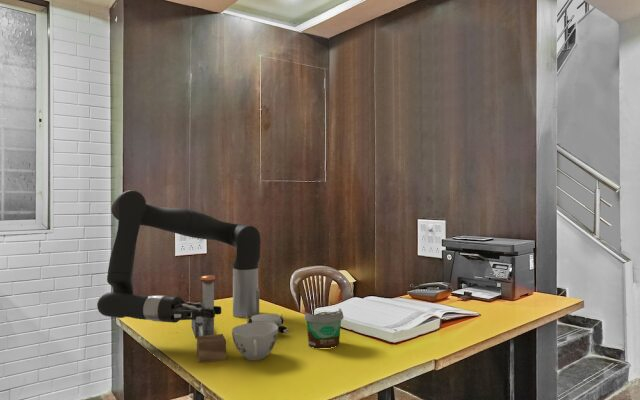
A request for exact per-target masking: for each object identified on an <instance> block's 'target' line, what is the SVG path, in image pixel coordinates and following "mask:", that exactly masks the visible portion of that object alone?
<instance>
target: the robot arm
mask: <svg viewBox="0 0 640 400" xmlns="http://www.w3.org/2000/svg"><path fill="white" fill-rule="evenodd" d="M110 211H111V214H112V216H113V217H114V218H115V219H116V220H118V222H117V224H118V225H117V231H116V236H115V239H114V243H113V245H112V246H113V247H112V250H111V253H110V257H109V262H108V268H107V269H108V270H107V276H106V282H107V283H108V285H110V286H111V287H112V291H111V292H110V291H109V292H106V293H103V295H101V297H100V298H99V299H98V301H97V306H96V307H97V310H98V312H99V314H101V315H102V316H104V317H108V318H109V317H110V318H115V319H124V318H131V319H136V320H147V321H148V320H149V321H152V322H159V323H173V324H175V323H178V322H180V321H188V320H189V321H192V320H195V319H196V318H202V317H205V318H214V319H215V317H216V315H221V314H222V307H221V305H220V306H219V305H214V310H212V309H203V300H202V301H201V300H197V301H195V302H192V301H187V302H185V301H184V299H183V297H181V296H178V295H161V294H155V295H148V294H147V295H146V294H134V290H133V283H132V282H133V281H132V279H133V272H134V262H135V256H136V249H137V241H138V235H139V231H140V226H144V227H150V228H155V229H159V230H162V231H165V232H169V233H174V234H178V235H181V236H185V237H188V238H193V239H200V240H207V241H209V240H210V241H217V242H220V243H224V244H227V245H229V246H231V247H234V248H236V256H235V259H234V260H233V261H232V316H234V317H237V318H246V316H247V318H251V317H252V316H254V315H260V288H259V262H260V258H261V243H262V242H261V234H260V231H259V230H258V228H257V227H255V226H253V225H249V224H239V223H238V224H237V223H232V222H225V221H222V220H219V219H217V218H214V217H213V216H210V215H208V214H205V213H203V212H200V211H196V210H192V209H188V208H183V207H165V206H164V207H162V206H156V205H151V204H148V203H147V202H146V199H145V196H144V195H143V194H142V193H141V192H139V191H138V190H132V189H130V190H129V189H128V190H126V191H124V192H122V193H121V194H119V195H118V196H117V198H116V199H115V200H114V202H113V203H112V205H111V208H110Z"/></svg>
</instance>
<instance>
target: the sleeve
mask: <svg viewBox="0 0 640 400" xmlns="http://www.w3.org/2000/svg"><path fill="white" fill-rule="evenodd" d="M197 324H203V317H202V318H196V319H195V320H191V329H192V332H193V334H194V338H195V339H197V336H198V333H197Z"/></svg>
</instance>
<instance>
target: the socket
mask: <svg viewBox="0 0 640 400" xmlns="http://www.w3.org/2000/svg"><path fill="white" fill-rule="evenodd" d="M196 356H197V360H198V363H200V364H201V363H207V362H214V361H222V360H226V359H227V339H226V337H225V335H224V334H223V333H219V334H218V333H217V334H214V335H206V336H197V338H196Z"/></svg>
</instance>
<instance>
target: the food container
mask: <svg viewBox="0 0 640 400" xmlns="http://www.w3.org/2000/svg"><path fill="white" fill-rule="evenodd" d="M343 319H344V313H343V311H342V309H341V308H338V311H323V312H318V313H315V314H313V313H309V312H305V314H304V319H303V320H304V321H306V329H307V342H308V347H310V348H312V347H314V348H313V349H315V348H331V347H335V346H337V345H338V344H339V345H340V334H341V324H342V320H343ZM339 345H338V346H339ZM338 346H337V347H338ZM335 348H336V347H335Z"/></svg>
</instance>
